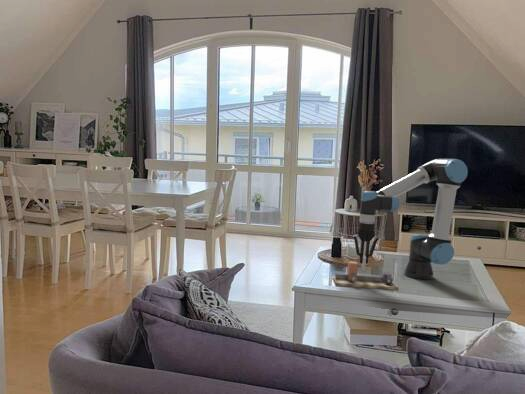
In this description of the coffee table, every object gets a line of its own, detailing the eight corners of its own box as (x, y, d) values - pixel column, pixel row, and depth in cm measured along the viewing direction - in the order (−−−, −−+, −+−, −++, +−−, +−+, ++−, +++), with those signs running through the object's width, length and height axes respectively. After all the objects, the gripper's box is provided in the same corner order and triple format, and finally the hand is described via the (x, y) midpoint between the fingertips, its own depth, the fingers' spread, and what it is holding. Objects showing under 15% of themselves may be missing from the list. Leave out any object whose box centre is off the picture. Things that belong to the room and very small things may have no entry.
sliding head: (354, 278, 243) (356, 261, 242) (357, 282, 235) (359, 265, 234) (346, 277, 243) (348, 261, 242) (349, 281, 235) (350, 264, 234)
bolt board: (391, 283, 244) (392, 280, 244) (398, 289, 232) (398, 287, 232) (332, 278, 244) (332, 276, 244) (335, 285, 232) (335, 282, 232)
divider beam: (390, 284, 242) (391, 273, 242) (394, 288, 235) (395, 276, 234) (334, 279, 242) (335, 269, 242) (336, 283, 235) (337, 272, 235)
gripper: (378, 222, 242) (374, 268, 244) (352, 220, 242) (348, 267, 244) (382, 224, 234) (377, 272, 236) (355, 222, 234) (351, 270, 236)
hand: (363, 269), depth 240 cm, fingers closed
